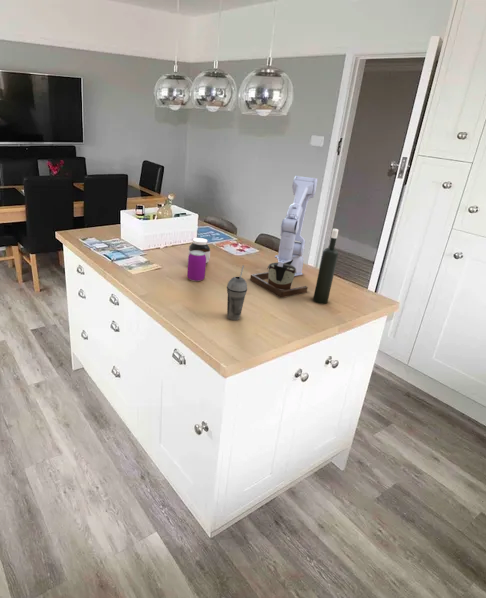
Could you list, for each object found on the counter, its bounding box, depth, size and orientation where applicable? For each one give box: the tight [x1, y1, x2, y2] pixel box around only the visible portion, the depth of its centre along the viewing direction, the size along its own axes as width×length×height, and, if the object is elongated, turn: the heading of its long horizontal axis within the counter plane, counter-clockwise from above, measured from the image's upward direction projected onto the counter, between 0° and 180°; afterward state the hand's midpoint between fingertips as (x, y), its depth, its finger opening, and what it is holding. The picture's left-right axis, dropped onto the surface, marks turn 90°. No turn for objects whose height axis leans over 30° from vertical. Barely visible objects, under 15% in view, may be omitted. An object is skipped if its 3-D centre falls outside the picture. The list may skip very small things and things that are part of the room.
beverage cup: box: [226, 264, 248, 321], centre depth 146 cm, size 7×7×20 cm
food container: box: [266, 262, 296, 291], centre depth 178 cm, size 12×6×10 cm, turn 71°
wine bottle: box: [312, 228, 340, 305], centre depth 163 cm, size 6×6×30 cm
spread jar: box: [187, 237, 211, 265], centre depth 196 cm, size 12×11×12 cm
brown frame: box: [249, 271, 309, 298], centre depth 180 cm, size 15×20×2 cm
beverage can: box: [186, 250, 207, 283], centre depth 179 cm, size 8×8×12 cm
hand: (281, 277), depth 178 cm, fingers open, 7 cm apart
